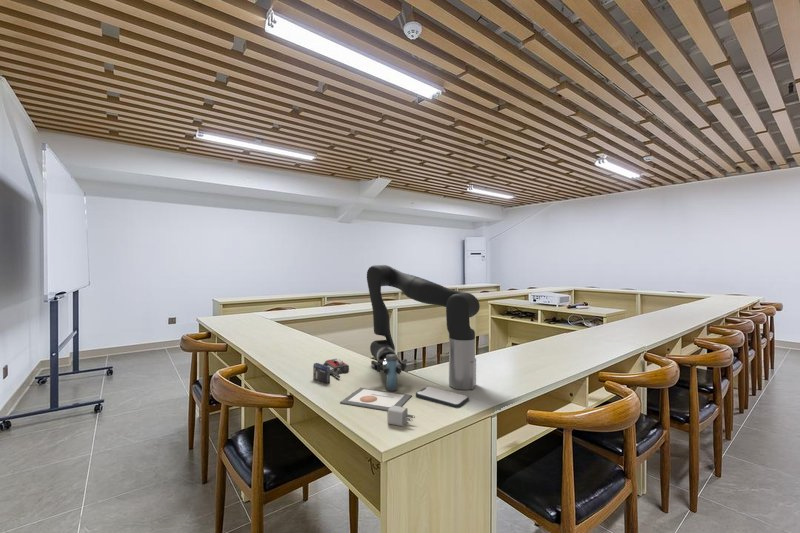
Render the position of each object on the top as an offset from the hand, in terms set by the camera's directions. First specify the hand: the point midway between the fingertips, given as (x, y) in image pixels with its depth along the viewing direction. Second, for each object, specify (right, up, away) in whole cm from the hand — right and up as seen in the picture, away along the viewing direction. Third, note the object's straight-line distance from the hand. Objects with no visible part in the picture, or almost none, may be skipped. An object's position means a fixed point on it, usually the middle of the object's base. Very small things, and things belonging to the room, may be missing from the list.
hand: (392, 371), depth 121 cm
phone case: (+16, -8, -5) cm, 19 cm away
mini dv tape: (-27, -7, +12) cm, 30 cm away
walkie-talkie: (-23, -8, +24) cm, 34 cm away
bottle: (0, -7, +3) cm, 8 cm away
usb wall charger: (+3, -8, -23) cm, 25 cm away
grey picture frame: (-5, -7, -6) cm, 11 cm away
